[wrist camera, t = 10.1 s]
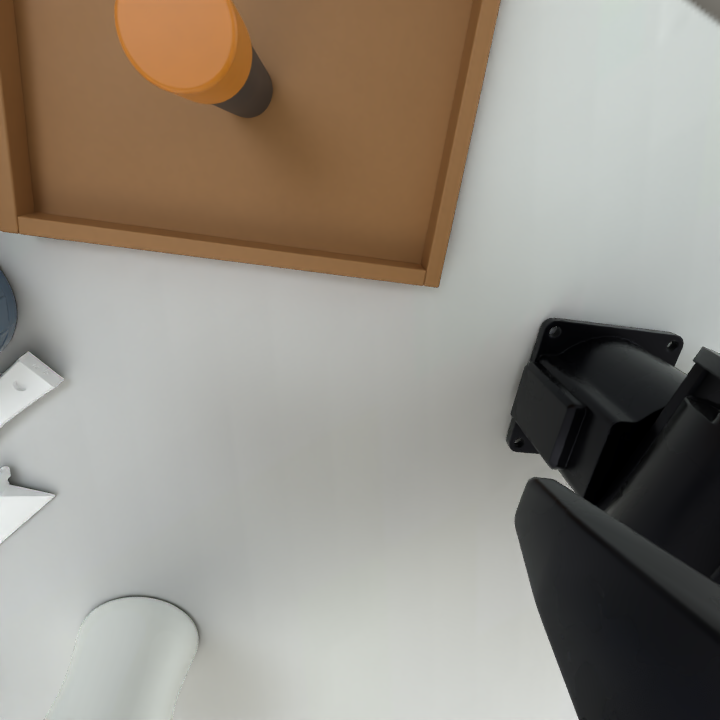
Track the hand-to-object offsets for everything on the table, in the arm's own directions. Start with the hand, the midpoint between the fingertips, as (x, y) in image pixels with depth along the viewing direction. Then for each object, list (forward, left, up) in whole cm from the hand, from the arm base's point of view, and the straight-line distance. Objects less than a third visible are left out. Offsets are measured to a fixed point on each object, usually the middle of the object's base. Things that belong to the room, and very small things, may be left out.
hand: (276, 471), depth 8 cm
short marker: (+2, -7, -12) cm, 14 cm away
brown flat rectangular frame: (+2, -7, -12) cm, 14 cm away
